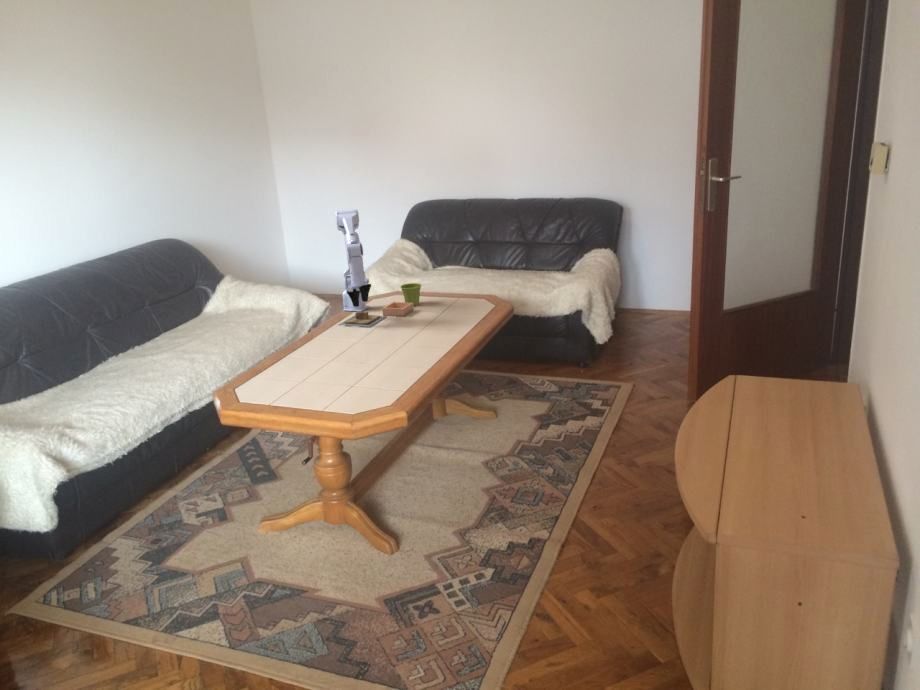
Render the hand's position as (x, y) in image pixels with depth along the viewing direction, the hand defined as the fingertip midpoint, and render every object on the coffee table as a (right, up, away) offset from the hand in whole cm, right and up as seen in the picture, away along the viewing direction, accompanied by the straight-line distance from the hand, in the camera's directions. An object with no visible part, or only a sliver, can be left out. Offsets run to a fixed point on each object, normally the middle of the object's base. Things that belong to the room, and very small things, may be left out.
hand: (360, 303), depth 316 cm
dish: (+15, -3, +11) cm, 19 cm away
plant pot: (+20, +1, +23) cm, 31 cm away
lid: (0, -7, +2) cm, 7 cm away
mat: (0, -7, +2) cm, 8 cm away
